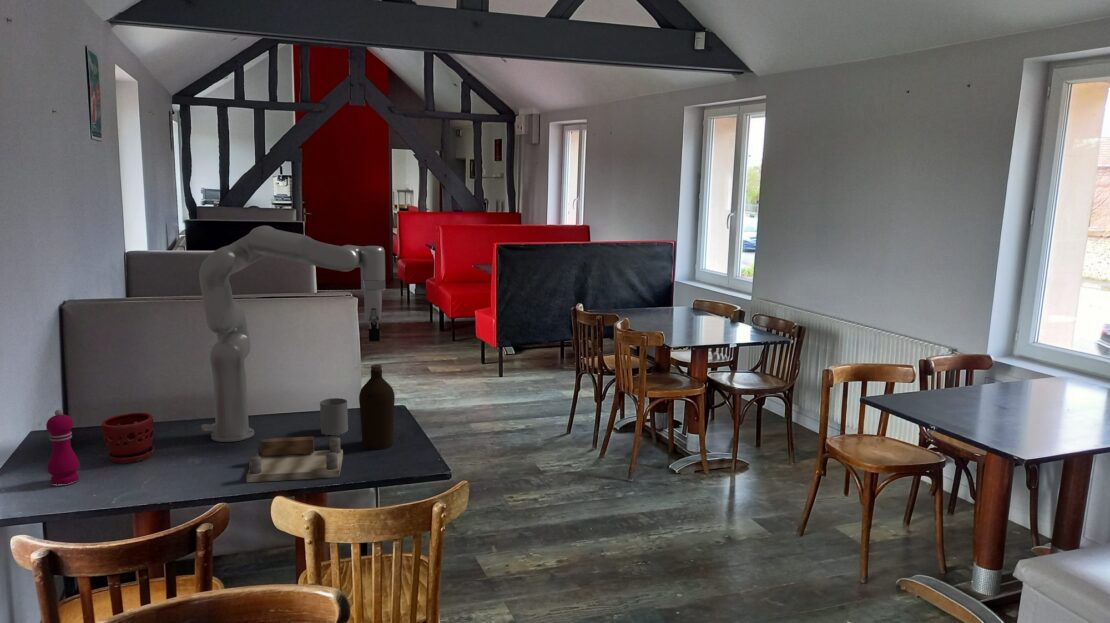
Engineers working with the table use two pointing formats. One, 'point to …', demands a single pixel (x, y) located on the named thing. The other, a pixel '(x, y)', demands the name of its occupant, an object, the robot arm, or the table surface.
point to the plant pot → (129, 437)
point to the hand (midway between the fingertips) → (374, 338)
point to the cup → (334, 416)
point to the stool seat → (297, 465)
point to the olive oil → (377, 411)
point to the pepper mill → (62, 450)
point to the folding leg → (286, 446)
